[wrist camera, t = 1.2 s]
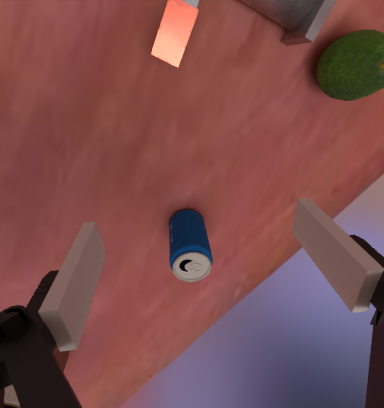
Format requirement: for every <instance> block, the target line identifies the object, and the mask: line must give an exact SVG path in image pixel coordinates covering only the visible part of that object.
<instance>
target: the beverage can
mask: <svg viewBox="0 0 384 408" xmlns="http://www.w3.org/2000/svg"><path fill="white" fill-rule="evenodd" d="M169 249H170V267H171V269H172V270H173V272H174V274H175V276H176V277H177V278H179V279H180V280H183V281H187V282H194V281H198V280H201V279H203V278H204V277H206V276H207V275H208V274H209V272H210V270H211V265H212V261H213V258H212V254H211V249H210V245H209V241H208V237H207V232H206V228H205V224H204V220H203V218H202V216H201V215H200V214H199V213H197V212H195V211H192V210H183V211H180V212H178V213H176V214H175V215H174V216H173V217H172V218H171V220H170V223H169Z"/></svg>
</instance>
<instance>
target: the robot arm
mask: <svg viewBox="0 0 384 408" xmlns="http://www.w3.org/2000/svg"><path fill="white" fill-rule="evenodd" d="M292 233H293V235H294V236H295V237H296V239H297V240H298V241H299V243H300V244H301V245H302V247H303V248H304V249H305V251H306V252H307V253H308V255H309V256H310V257H311V259H312V260H313V261H314V263H315V264H316V265H317V267H318V268H319V269H320V271H321V272H322V274H323V275H324V276H325V278H326V279H327V280H328V282H329V283H330V284H331V286H332V287H333V288H334V289H335V291H336V292H337V293H338V295H339V296H340V298H341V299H342V300H343V302H344V303H345V304H346V306H347V307H348V308H349V310H350V311H351V312H352V313H355V312H363V311H367V310H368V308H369V305H370V303H372V304H373V305H374V307H375V308H376V311H375V314H374V316H373V318H372V320H371V323H370V324H371V325H373V333H372V344H371V354H370V363H369V373H368V383H367V384H368V385H367V394H366V404H365V408H384V257H383V256H382V255H381V254H379V253H377V251H376V250H375V249H374V248H372V247H371V245H369V244H368V243H367V242H366V241H365V240H364V239H362V238H360V237H358V236H356V235H348V234H347V233H346V232H345V231H343V230H342V229H341V228H340V227H339V226H338V225H337V224H336V223H335V222H334V221H333V220H332V219H331V218H330V217H329V216H328V215H326V214H325V213H324V212H323V211H322V210H321V209H320V208H319V207H318V206H317V205H316V204H315V203H314V202H313V201H312V200H311V199H309V198H301V199H297V204H296V211H295V217H294V224H293V231H292ZM105 257H106V252H105V249H104V245H103V242H102V239H101V236H100V232H99V229H98V226H97V223H96V221H93V222H84V223H83V225H82V227H81V229H80V231H79V233H78V235H77V237H76V239H75V241H74V243H73V245H72V247H71V249H70V250H69V252H68V254H67V256H66V258H65V260H64V262H63V264H62V266H61V268H60V270H56V271H50V272H49V273H48V274H47V275H46V276H45V277H44V278H43V279H42V280H41V282H40V284H39V286H38V289H36V291H35V293H34V295H33V296H32V298H31V300H30V302H29V303H28V305H27V307H26V308H25V307H24V306H20V305H17V306H12V307H9V308H7V309H5V310H3V311H2V312H0V408H4V394H5V388H6V387H8V386H10V385H12V384H13V387H14V390H15V392H16V395H17V398H18V401H19V404H20V407H21V408H82V406H81V404H80V402H79V401H78V399H77V397H76V395H75V393H74V391H73V389H72V388H71V386H70V384H69V382H68V380H67V378H66V376H65V375H64V373H63V371H62V369H61V367H60V365H59V364H58V362H57V360H56V358H55V356H54V354H53V351H54V349H55V346H56V345H57V346H58V348H59V350H60V352H61V351H68V350H76V349H78V345H79V342H80V339H81V335H82V332H83V329H84V326H85V322H86V319H87V316H88V313H89V309H90V306H91V303H92V300H93V296H94V293H95V290H96V287H97V283H98V280H99V277H100V274H101V270H102V267H103V264H104V261H105Z"/></svg>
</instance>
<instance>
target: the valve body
mask: <svg viewBox="0 0 384 408" xmlns="http://www.w3.org/2000/svg"><path fill="white" fill-rule="evenodd" d="M241 1H242V2H244V3H246V4H247V5H249V6H251V7H252V8H254V9H255V10H257V11H259V12H260V13H262V14H264V15H265V16H267V17H268V18H270V19H272V20H273V21H275V22H277V23H278V24H280V25H281V26H283V27H285V28H286V31H285V33H284V35H283V37H282V39H281V42H282V43H284V44H286V45H287V46H289V45H296V44H303V43H310V42H314V40H315V38H316V36H317V35H318V33H319V31H320V29H321V27H322V26H323V24H324V22H325V20H326V18H327V17H328V15H329V13H330V11H331V9H332V8H333V6H334V4H335V2H336V0H241Z"/></svg>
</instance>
